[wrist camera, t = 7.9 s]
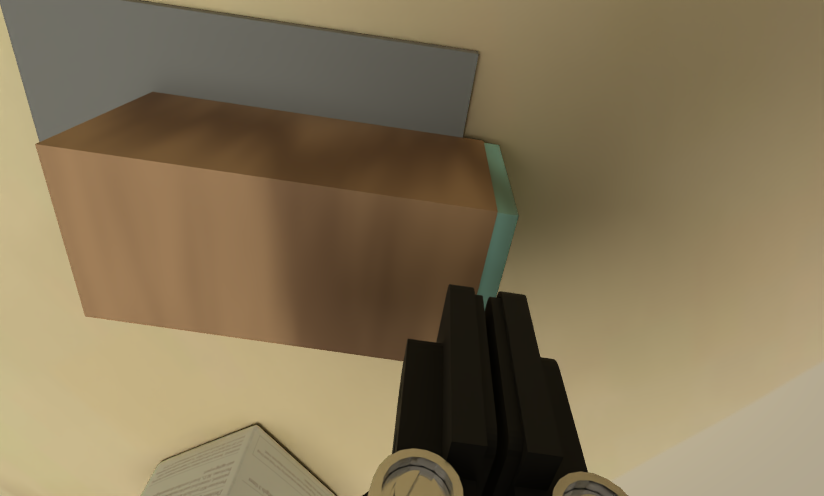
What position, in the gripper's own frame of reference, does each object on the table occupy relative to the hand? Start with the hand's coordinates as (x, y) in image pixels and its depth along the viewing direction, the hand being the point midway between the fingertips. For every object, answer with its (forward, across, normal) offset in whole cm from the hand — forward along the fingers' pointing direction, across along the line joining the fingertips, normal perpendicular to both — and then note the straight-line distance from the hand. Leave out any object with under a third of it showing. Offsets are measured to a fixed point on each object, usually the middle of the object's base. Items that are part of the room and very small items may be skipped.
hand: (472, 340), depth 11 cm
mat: (+7, +8, 0) cm, 10 cm away
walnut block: (+4, -1, 0) cm, 4 cm away
